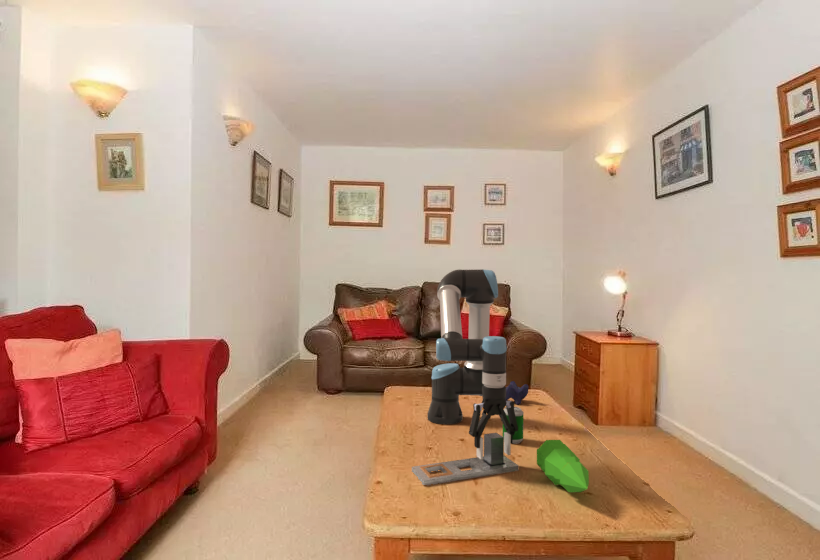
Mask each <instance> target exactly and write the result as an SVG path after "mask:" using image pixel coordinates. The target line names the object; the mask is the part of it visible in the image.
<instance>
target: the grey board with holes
mask: <svg viewBox="0 0 820 560" xmlns="http://www.w3.org/2000/svg"><path fill="white" fill-rule="evenodd" d="M519 467H520V466H519V464H518V463H516V462H514V461H513V460H511V459H510V458H509V457H507V456H505V455H504V464H503V465H497V466H489V465H488V464H486V463H485V462H484V455H483V459H479V458H478V457H477V456H476V457H470V458H462V459H457V460H455V459H454V460H450V461H443V462H436V463H429V464H422V465H414V466H411V473H412V472H413V473H414V474H415V475H416V476H417V477H418V479H419V480H420V481H421V482H422V483H421V482H420V481H419V480H418V479H417V480H418V481H419V482H420V483H421V485H422V486H423V485H427V486H431V484H433V485H438V483H439V484H444V483H450V482H451V483H452V482H456V481H457V482H458V481H463V480H469V479H475V478H482V477H487V476H494V475H499V474H507V473H513V472H518V471H520V470H519V469H520V468H519ZM461 468H470V469H468V470H467V469H466V470H461ZM438 470H441V471H442V472H443V473H442V472H441V471H440V472H441V473H437V474H431V473H432V472H431V471H436V472H439V471H438ZM429 472H430V473H429ZM413 473H412V474H413ZM414 474H413V475H414ZM415 475H414V476H415ZM416 476H415V477H416ZM417 477H416V478H417Z"/></svg>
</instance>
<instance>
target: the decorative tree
mask: <svg viewBox="0 0 820 560" xmlns="http://www.w3.org/2000/svg"><path fill="white" fill-rule="evenodd" d="M536 465H537V466H538V467H539V468H540V469H541V470H542V472H543V473H544V475H545V477H547V478H548V480H550V481H551V482H552V483H553V484H554V486H561V487H563V488H564V490H566V492H568V493H582V492H584V491H587V490H588V488H589V485H590V481H589V480H590V479H589V473H590V471H589V470H588V469H587V467H585V465H583V463H582V462H581V460H580V458H579V457H578V456H577V455H576V454H575V453H574V452H573V450H572V449H571V448H569V447H568V445H567V444H566V443H564V442H563V441H562V440H561V439H546V440H545V441H544V442H542V443H541V444H540V445H539V447H538V448H537V449H536Z"/></svg>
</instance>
